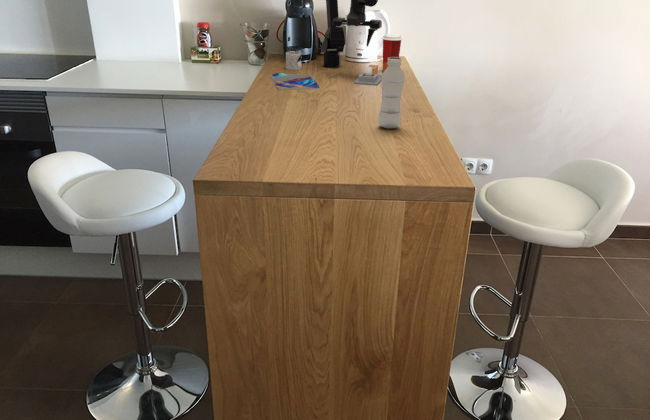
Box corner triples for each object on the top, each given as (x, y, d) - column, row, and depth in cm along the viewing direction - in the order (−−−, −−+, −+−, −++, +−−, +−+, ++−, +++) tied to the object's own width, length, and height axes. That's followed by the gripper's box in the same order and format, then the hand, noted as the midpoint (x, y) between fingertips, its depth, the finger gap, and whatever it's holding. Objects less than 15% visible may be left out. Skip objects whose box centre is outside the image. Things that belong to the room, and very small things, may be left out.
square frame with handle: (365, 74, 234) (366, 64, 233) (381, 75, 233) (382, 65, 231) (358, 81, 222) (358, 70, 220) (374, 82, 220) (375, 72, 218)
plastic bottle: (375, 124, 170) (380, 55, 162) (398, 124, 171) (403, 56, 163) (379, 131, 165) (384, 60, 156) (402, 131, 165) (408, 60, 157)
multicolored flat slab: (270, 77, 231) (270, 72, 230) (307, 76, 234) (307, 71, 233) (278, 91, 208) (277, 86, 207) (319, 90, 211) (319, 85, 210)
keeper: (353, 83, 221) (354, 68, 218) (363, 74, 236) (364, 60, 234) (376, 85, 219) (377, 70, 216) (385, 76, 234) (386, 62, 232)
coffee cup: (399, 70, 246) (402, 34, 240) (399, 74, 239) (402, 37, 233) (379, 69, 247) (382, 33, 241) (379, 73, 240) (382, 36, 233)
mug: (301, 70, 241) (301, 54, 238) (285, 70, 241) (285, 53, 238) (302, 66, 250) (302, 50, 247) (286, 65, 250) (286, 49, 247)
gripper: (329, 4, 217) (328, 46, 224) (377, 7, 213) (375, 50, 219) (336, 2, 227) (335, 42, 233) (383, 4, 223) (380, 46, 229)
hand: (356, 45), depth 229 cm, fingers open, 9 cm apart
